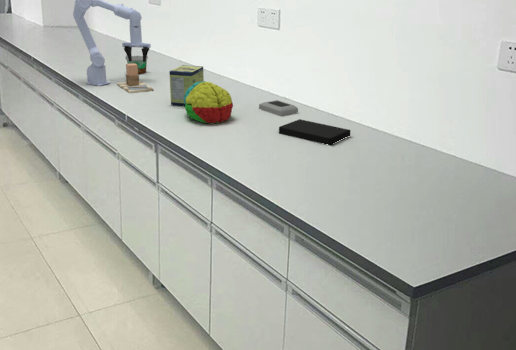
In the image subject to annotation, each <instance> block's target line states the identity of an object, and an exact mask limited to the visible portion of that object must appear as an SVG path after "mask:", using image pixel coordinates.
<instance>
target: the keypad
mask: <svg viewBox="0 0 516 350" xmlns="http://www.w3.org/2000/svg"><path fill="white" fill-rule="evenodd" d="M258 106H259V107H258V110H260V109H261V111H264V112H267V113H269V114H270V113H271V114H272V115H276V116H279V117H285V115H286V116H289V115H290V116H291V115H294V114H293V113H295V114H298V113H299V108H298V107H297V106H296V105H294V104H291V103H288V102H285V101H281V100H278V99H277V100H276V99H275V100H271V101H265V102H262V103H259V105H258ZM297 112H298V113H297Z"/></svg>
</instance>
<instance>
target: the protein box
mask: <svg viewBox="0 0 516 350" xmlns="http://www.w3.org/2000/svg"><path fill="white" fill-rule="evenodd" d="M204 79H205V78H204V66H199V65H189V64H188V65H185V64H182V65H179V66H178V67H176V68H173V69H171V70H169V90H170V92H169V93H170V105H171V106H173V107H175V106H176V107H185V106H186V105H185V104H184V96H185V93H186V91H187V89H188V88H189V87H191V86H192V85H193V84H194V83H196V82H202V81H204Z"/></svg>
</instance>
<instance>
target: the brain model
mask: <svg viewBox="0 0 516 350" xmlns="http://www.w3.org/2000/svg"><path fill="white" fill-rule="evenodd" d="M184 104H185V105H186V106H184V108H185V112H186V114H187V116H189V117H190V118H191V119H192V120H195V121H198V122H200V123H203V124H204V123H205V124H209V123H213V124H219V123H221V124H222V123H225V122H227V121H228V120H229V119H230V118H231V116H232V112H233V111H232V109H233V107H234V105H233V100H232V96H231V94H230V93H229V91H228V90H227V89H225V88H223V87H221V86H218V84H214V83H213V82H211V81H206V80H205V81H202V82H196V83H194V84H193V85H192V86H191V87H189V88H188V89H187V91H186V93H185V96H184Z"/></svg>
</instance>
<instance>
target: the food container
mask: <svg viewBox="0 0 516 350" xmlns="http://www.w3.org/2000/svg"><path fill="white" fill-rule="evenodd" d="M125 55H126V56H125V60H126V64H133V63H135V64H137V67H138V75H139V76H140V75H145V74H147V66H148V65H147V62H148V61H147V59H149V57H148V56H149V55H147V57H146V62H143V55H133V56H132V61H129V59H128V56H127V54H125Z"/></svg>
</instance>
